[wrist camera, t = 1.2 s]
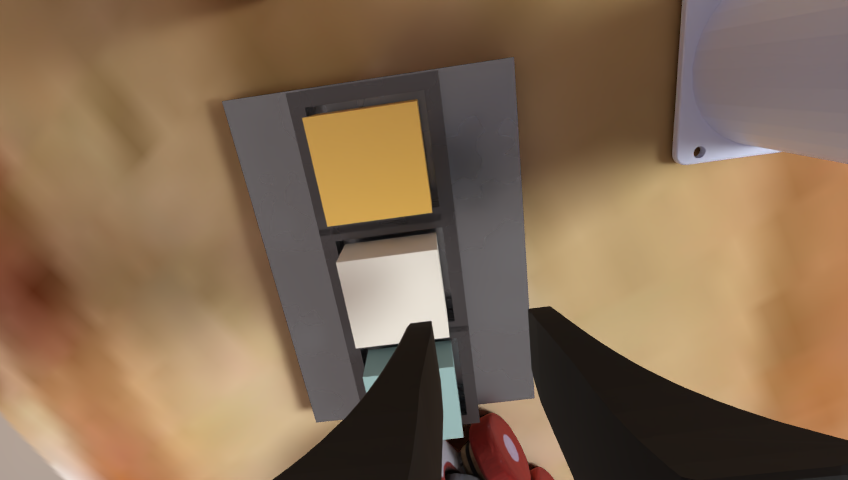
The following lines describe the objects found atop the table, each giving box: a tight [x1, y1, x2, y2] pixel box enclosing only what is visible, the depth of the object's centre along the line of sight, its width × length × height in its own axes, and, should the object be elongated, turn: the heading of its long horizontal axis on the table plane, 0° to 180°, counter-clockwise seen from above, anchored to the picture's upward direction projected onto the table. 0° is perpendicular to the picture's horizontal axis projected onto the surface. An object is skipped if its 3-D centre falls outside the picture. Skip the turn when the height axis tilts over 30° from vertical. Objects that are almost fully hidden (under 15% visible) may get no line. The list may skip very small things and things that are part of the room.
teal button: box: [363, 340, 464, 440], centre depth 20 cm, size 4×4×2 cm
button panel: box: [222, 57, 534, 425], centre depth 20 cm, size 12×17×3 cm
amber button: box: [302, 99, 432, 227], centre depth 16 cm, size 4×4×2 cm
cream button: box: [336, 232, 450, 348], centre depth 18 cm, size 4×4×2 cm
